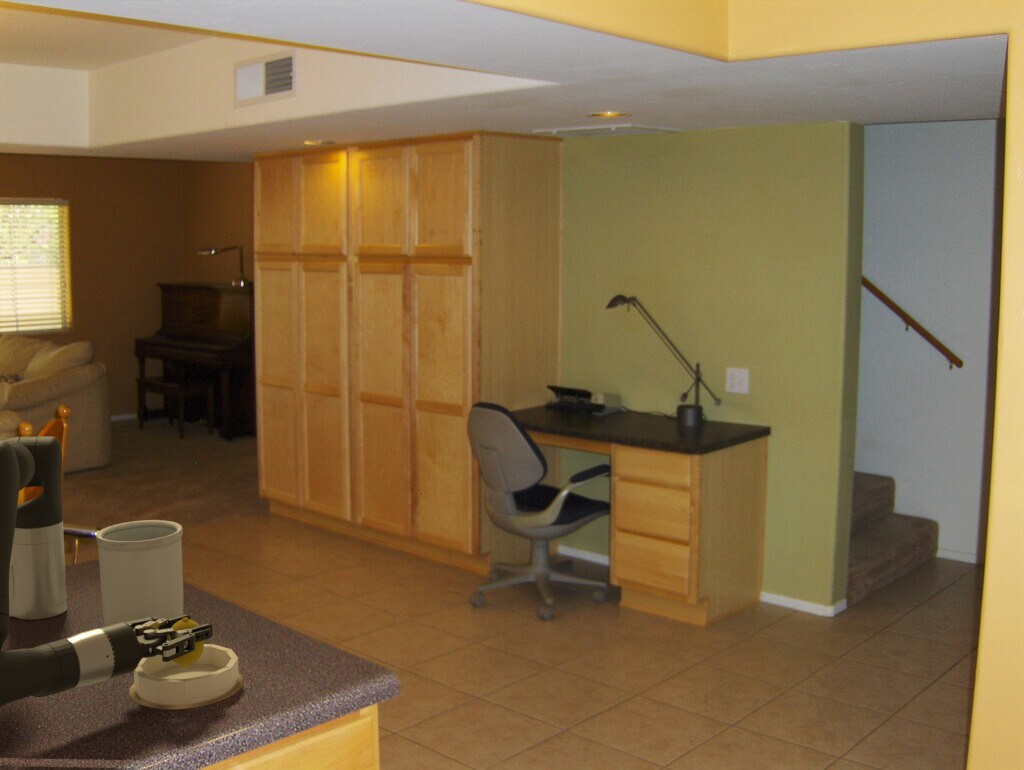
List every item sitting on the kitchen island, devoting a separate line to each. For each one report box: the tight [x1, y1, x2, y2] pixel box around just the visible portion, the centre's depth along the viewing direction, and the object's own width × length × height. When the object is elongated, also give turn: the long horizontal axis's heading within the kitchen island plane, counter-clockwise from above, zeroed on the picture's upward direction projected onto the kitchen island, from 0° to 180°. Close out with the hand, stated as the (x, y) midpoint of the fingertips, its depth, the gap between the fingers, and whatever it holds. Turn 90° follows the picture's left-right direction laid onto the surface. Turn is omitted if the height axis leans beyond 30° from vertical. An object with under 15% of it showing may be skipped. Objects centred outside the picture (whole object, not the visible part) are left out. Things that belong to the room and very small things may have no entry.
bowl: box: [133, 643, 240, 706], centre depth 166 cm, size 15×15×4 cm
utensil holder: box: [95, 519, 184, 626], centre depth 194 cm, size 15×15×18 cm
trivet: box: [128, 671, 244, 710], centre depth 167 cm, size 17×17×1 cm
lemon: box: [167, 618, 205, 668], centre depth 165 cm, size 6×6×8 cm
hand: (199, 625), depth 167 cm, fingers closed on lemon, 5 cm apart
